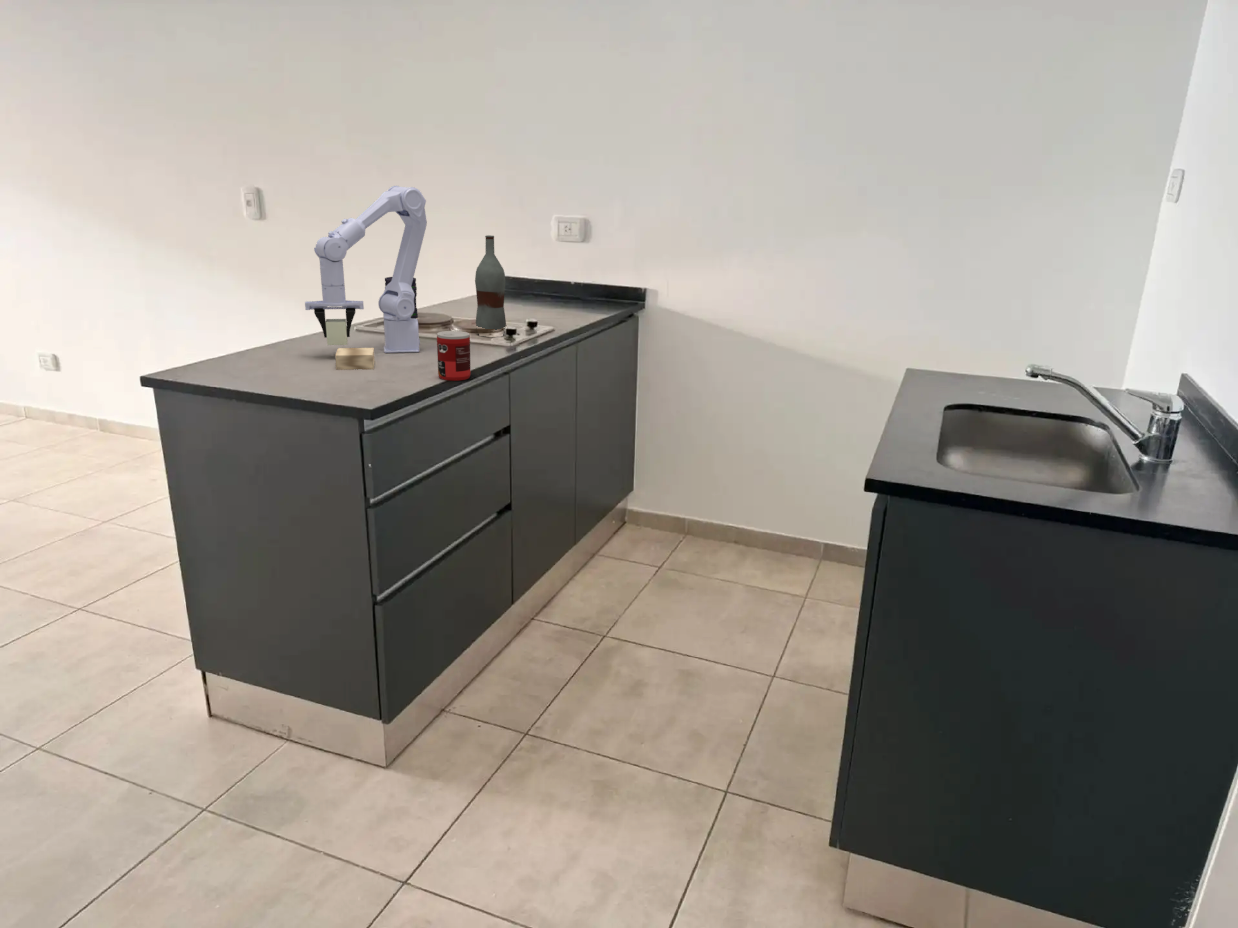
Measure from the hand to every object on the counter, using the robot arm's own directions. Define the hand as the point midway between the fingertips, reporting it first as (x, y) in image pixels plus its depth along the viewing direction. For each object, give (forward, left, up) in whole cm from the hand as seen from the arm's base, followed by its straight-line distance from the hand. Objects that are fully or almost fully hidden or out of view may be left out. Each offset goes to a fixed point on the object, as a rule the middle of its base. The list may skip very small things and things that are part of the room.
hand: (337, 336), depth 224 cm
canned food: (-28, +26, -6) cm, 39 cm away
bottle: (-45, -28, -6) cm, 53 cm away
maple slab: (-4, +10, -6) cm, 13 cm away
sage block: (0, 0, -2) cm, 2 cm away
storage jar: (-19, -46, -6) cm, 50 cm away
